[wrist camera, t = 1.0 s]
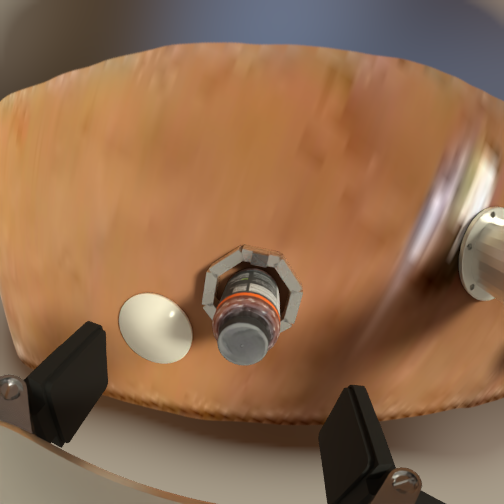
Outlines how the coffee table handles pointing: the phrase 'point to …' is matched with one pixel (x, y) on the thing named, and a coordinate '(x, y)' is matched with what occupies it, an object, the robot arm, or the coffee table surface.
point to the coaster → (155, 328)
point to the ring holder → (259, 259)
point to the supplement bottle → (247, 317)
